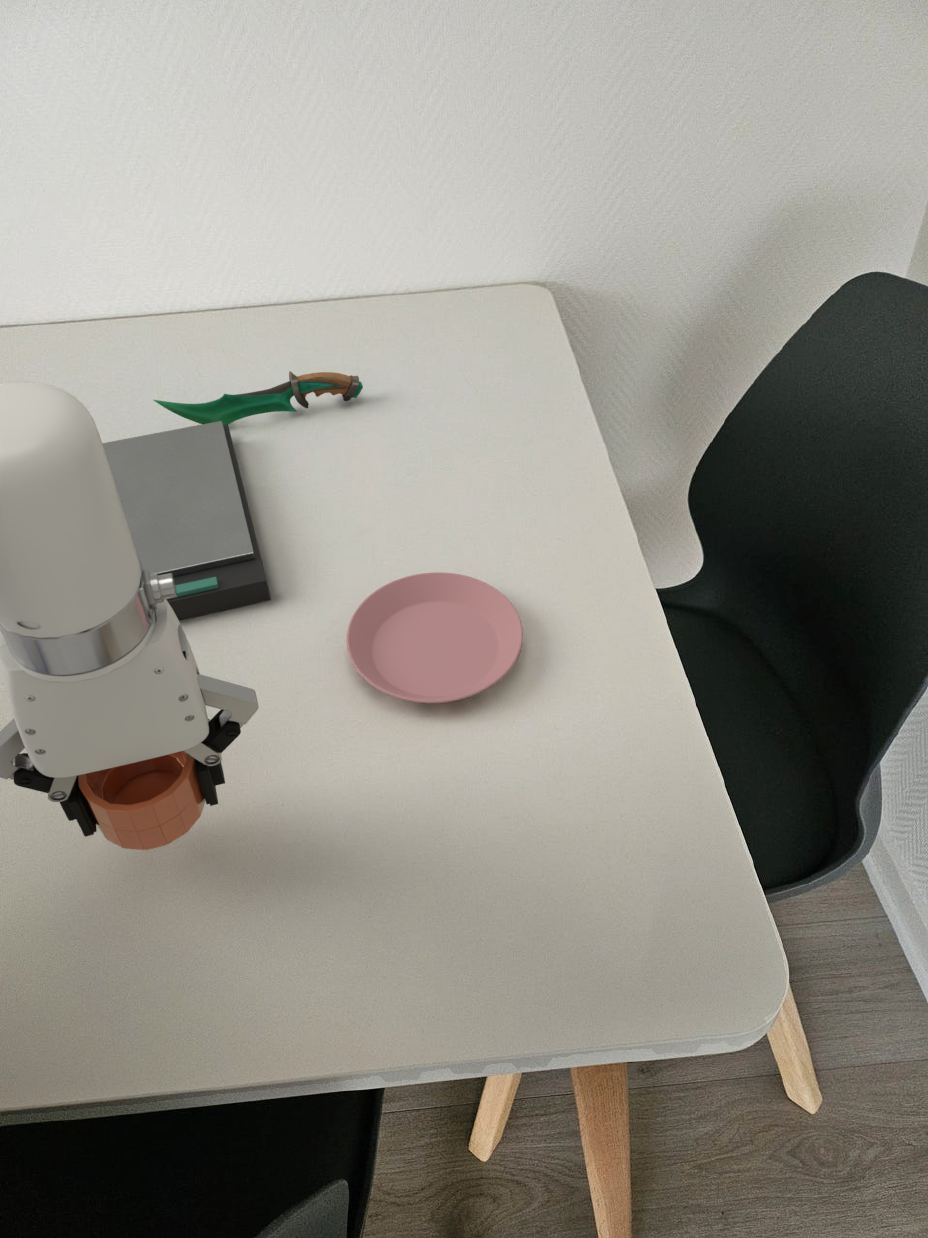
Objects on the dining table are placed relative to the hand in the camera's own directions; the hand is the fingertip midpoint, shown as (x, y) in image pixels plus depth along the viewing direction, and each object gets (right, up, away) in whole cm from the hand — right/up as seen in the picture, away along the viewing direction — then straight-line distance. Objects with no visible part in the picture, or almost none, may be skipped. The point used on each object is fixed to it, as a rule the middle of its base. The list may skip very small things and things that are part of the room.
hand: (150, 801), depth 64 cm
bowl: (0, -1, +1) cm, 1 cm away
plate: (+18, +9, +17) cm, 26 cm away
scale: (-6, +20, +28) cm, 35 cm away
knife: (0, +33, +40) cm, 52 cm away
